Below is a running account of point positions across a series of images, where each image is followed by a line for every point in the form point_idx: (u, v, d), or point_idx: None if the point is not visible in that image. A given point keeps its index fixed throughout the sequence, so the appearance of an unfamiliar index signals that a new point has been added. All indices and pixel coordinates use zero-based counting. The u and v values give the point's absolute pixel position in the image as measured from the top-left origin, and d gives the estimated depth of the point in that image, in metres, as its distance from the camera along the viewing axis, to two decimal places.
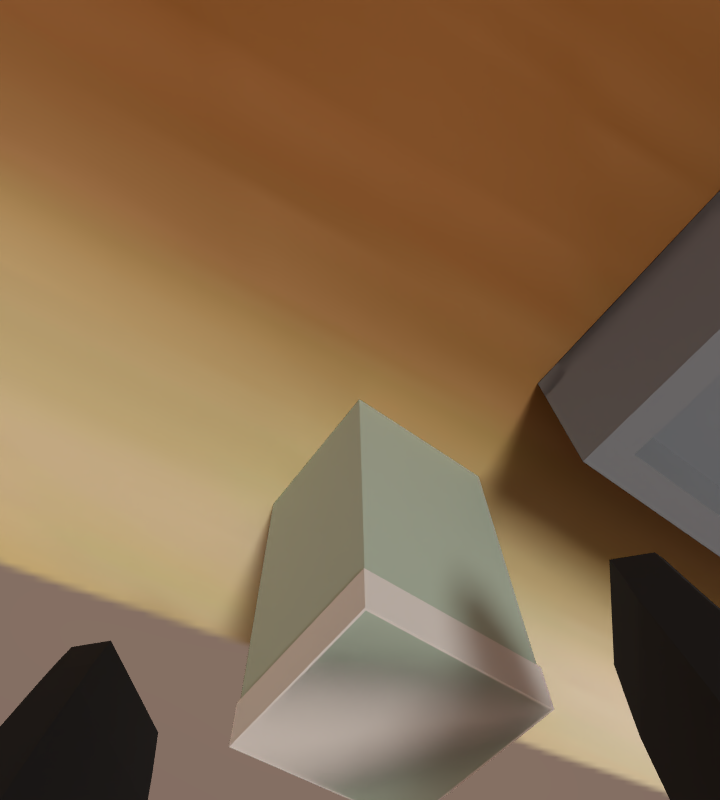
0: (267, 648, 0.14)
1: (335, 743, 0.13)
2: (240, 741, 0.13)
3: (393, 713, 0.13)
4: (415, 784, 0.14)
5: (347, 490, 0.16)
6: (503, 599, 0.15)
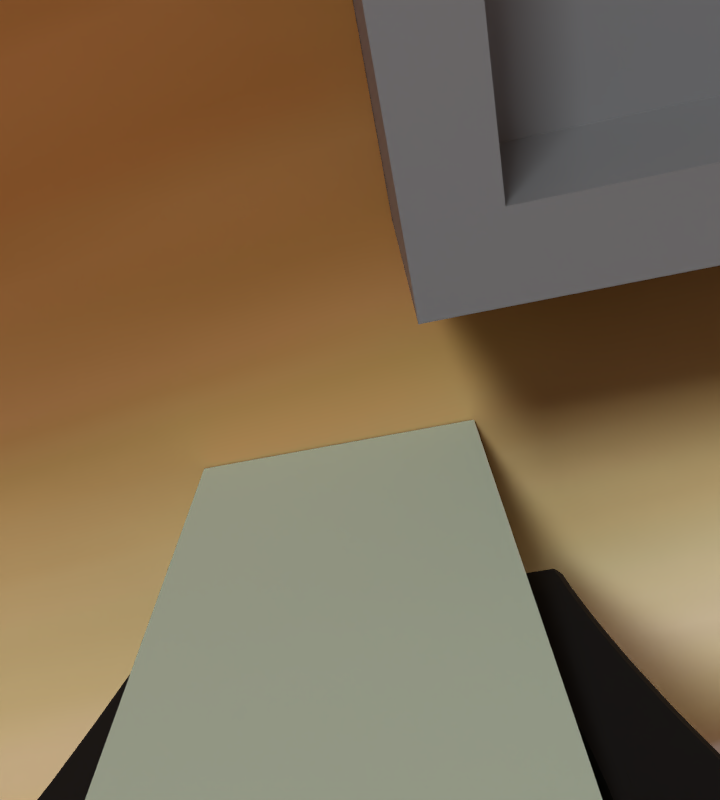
0: None
1: None
2: None
3: None
4: None
5: None
6: (517, 728, 0.06)
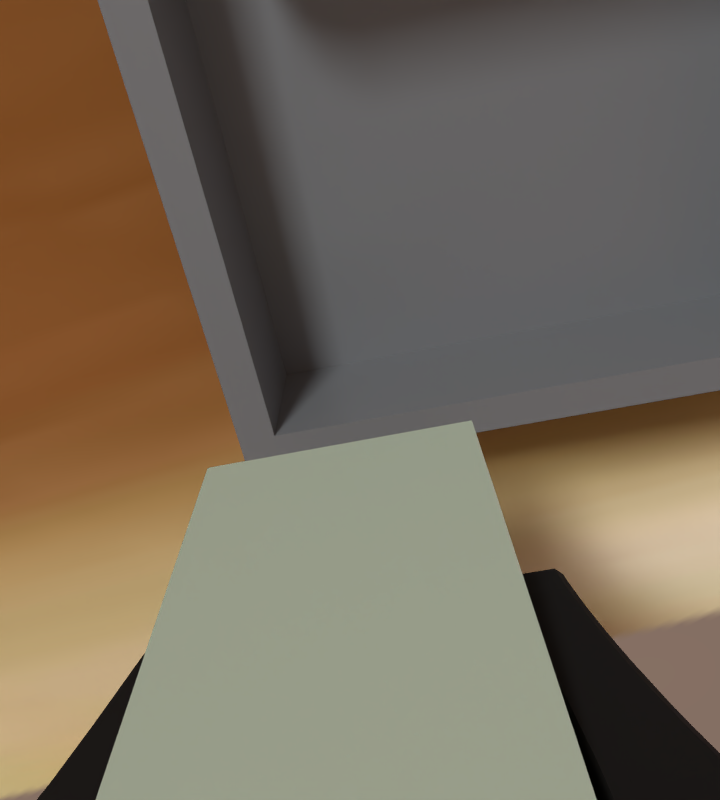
0: None
1: None
2: None
3: None
4: None
5: None
6: (514, 723, 0.06)
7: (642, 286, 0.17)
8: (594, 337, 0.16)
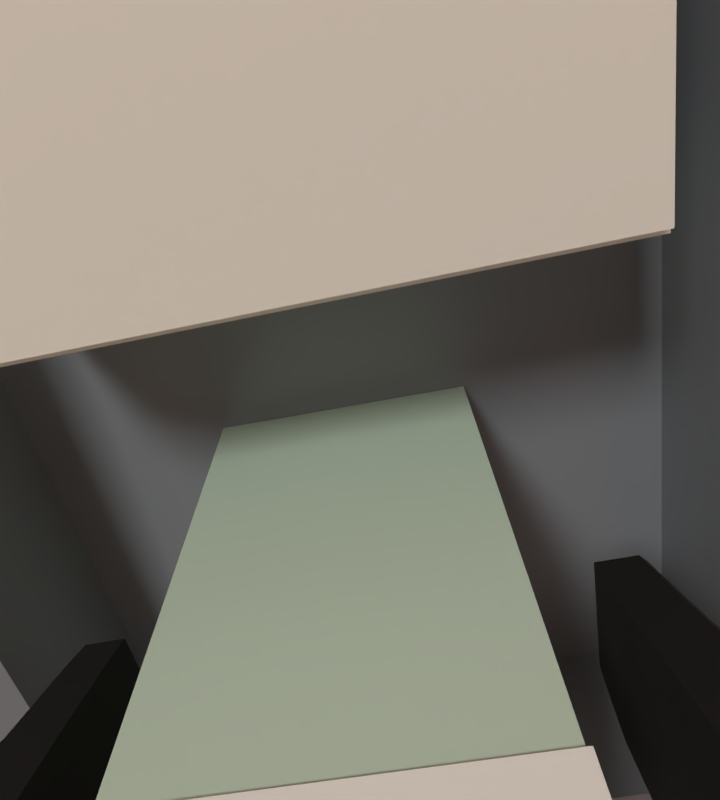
0: None
1: None
2: None
3: None
4: None
5: None
6: (492, 614, 0.07)
7: (561, 638, 0.15)
8: None
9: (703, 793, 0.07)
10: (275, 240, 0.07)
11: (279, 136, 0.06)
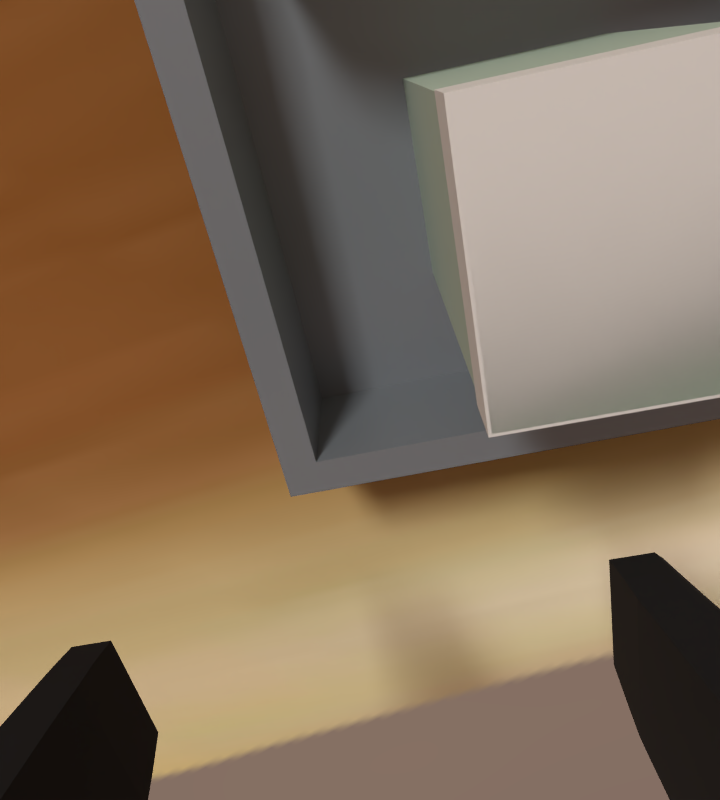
0: (464, 329, 0.11)
1: (605, 332, 0.09)
2: (493, 420, 0.09)
3: (633, 222, 0.08)
4: None
5: (422, 119, 0.11)
6: (699, 28, 0.09)
7: None
8: None
9: None
10: None
11: None
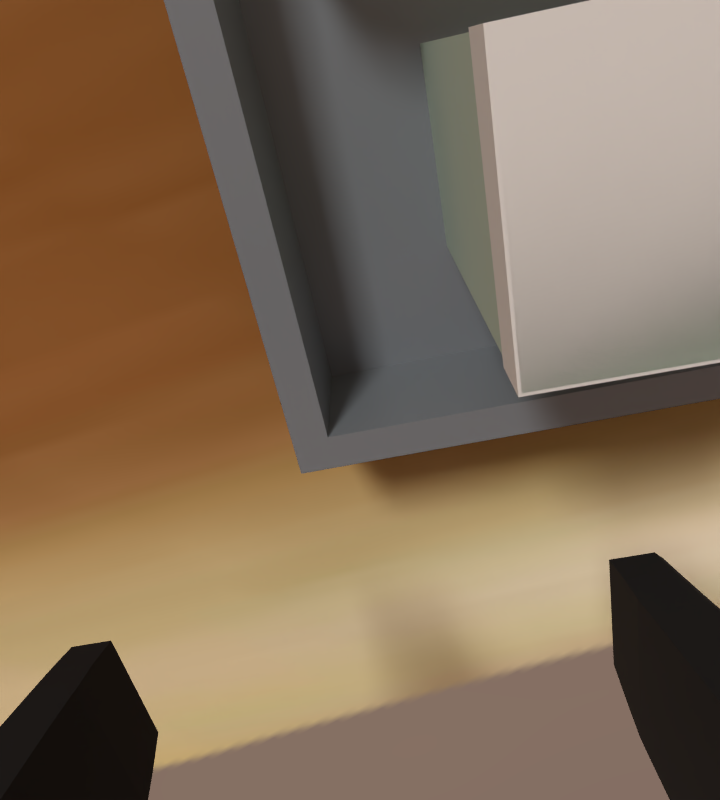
0: (490, 290, 0.10)
1: (642, 285, 0.08)
2: (524, 378, 0.09)
3: (676, 166, 0.08)
4: None
5: (445, 75, 0.11)
6: None
7: None
8: None
9: None
10: None
11: None
